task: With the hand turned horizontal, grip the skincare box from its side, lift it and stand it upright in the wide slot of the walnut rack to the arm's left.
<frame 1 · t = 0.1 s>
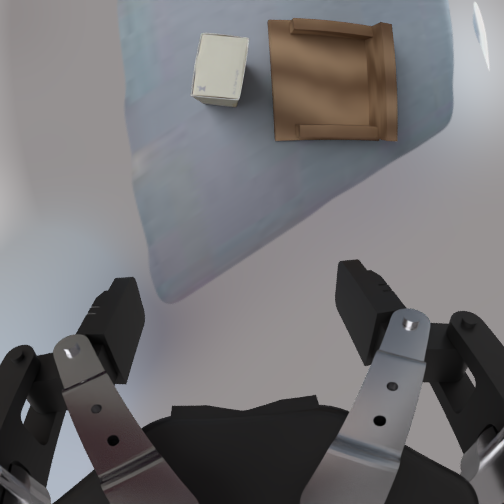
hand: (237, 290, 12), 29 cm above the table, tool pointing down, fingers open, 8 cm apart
skincare box: (222, 81, 34), on the table
rack: (325, 79, 34), on the table
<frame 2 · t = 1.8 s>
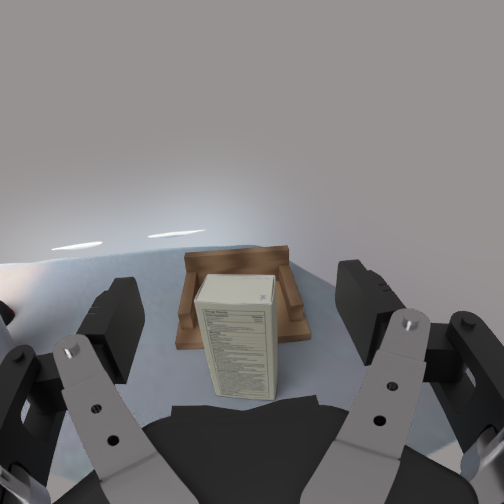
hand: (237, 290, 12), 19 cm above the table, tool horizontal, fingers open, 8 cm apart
skincare box: (246, 385, 30), on the table
rack: (240, 311, 42), on the table
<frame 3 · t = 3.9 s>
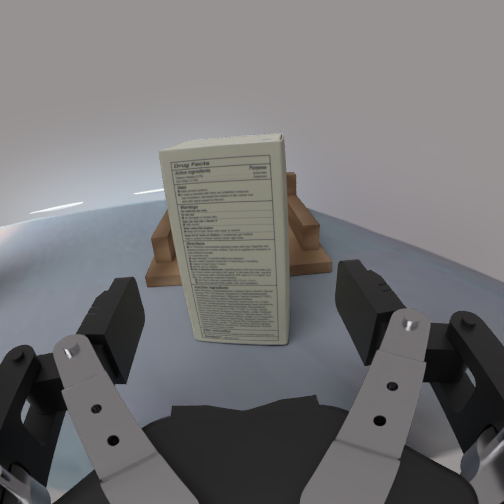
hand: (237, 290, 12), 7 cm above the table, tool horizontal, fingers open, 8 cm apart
skincare box: (243, 327, 21), on the table
rack: (236, 246, 33), on the table
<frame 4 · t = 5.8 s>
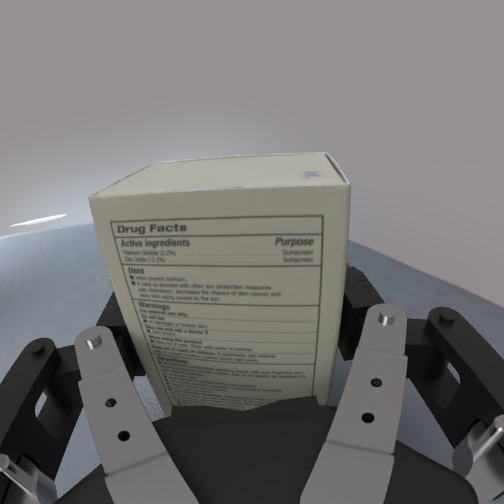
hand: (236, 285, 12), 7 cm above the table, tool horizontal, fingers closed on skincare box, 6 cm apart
skincare box: (251, 431, 13), on the table, touching gripper
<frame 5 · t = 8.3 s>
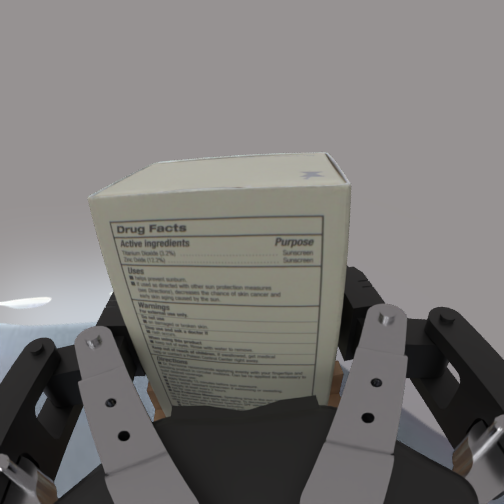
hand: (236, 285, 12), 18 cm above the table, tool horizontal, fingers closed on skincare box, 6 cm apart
skincare box: (251, 431, 13), point 10 cm above the table, touching gripper
rack: (255, 481, 19), on the table
when the fingers open (9 cm above the table, at t = 11.1 s): skincare box stays where it is, resting on rack.
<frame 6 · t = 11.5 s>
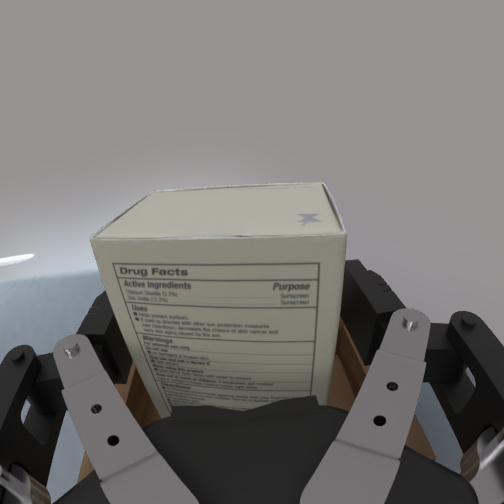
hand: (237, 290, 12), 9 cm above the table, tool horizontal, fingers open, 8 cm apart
skincare box: (250, 443, 14), point 1 cm above the table, touching rack
rack: (252, 447, 14), on the table
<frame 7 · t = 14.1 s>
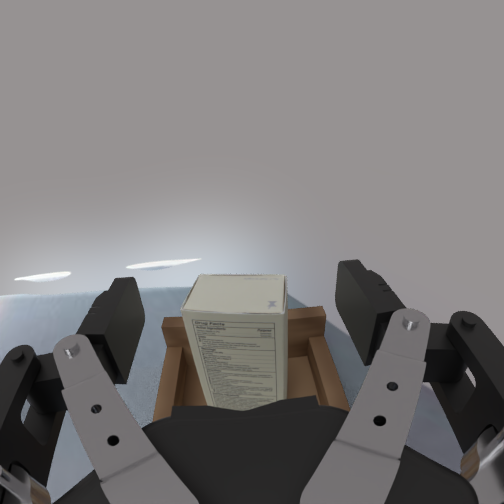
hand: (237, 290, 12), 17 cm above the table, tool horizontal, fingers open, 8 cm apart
skincare box: (249, 408, 24), point 1 cm above the table, touching rack
rack: (250, 411, 25), on the table
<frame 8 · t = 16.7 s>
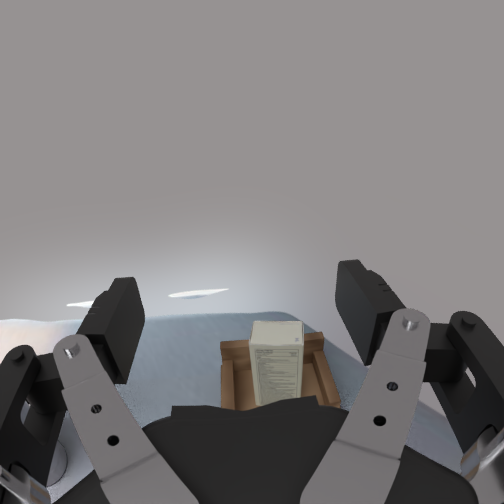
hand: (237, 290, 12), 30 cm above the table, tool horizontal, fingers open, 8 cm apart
skincare box: (277, 396, 40), point 1 cm above the table, touching rack
rack: (278, 399, 41), on the table
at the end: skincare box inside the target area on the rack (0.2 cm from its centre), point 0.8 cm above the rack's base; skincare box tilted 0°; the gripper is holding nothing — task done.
